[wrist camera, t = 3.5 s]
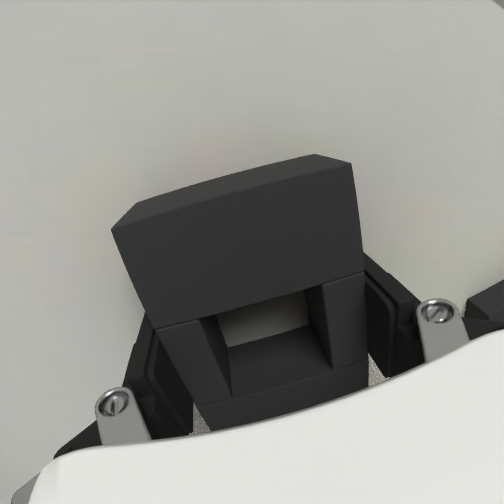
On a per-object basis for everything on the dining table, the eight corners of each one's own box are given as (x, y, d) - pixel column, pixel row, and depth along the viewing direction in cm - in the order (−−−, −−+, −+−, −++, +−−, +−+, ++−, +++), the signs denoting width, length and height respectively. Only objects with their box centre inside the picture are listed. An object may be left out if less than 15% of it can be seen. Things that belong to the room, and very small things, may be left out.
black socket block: (135, 202, 10) (109, 229, 7) (315, 153, 10) (351, 162, 8) (218, 400, 14) (222, 449, 11) (345, 365, 14) (368, 408, 11)
